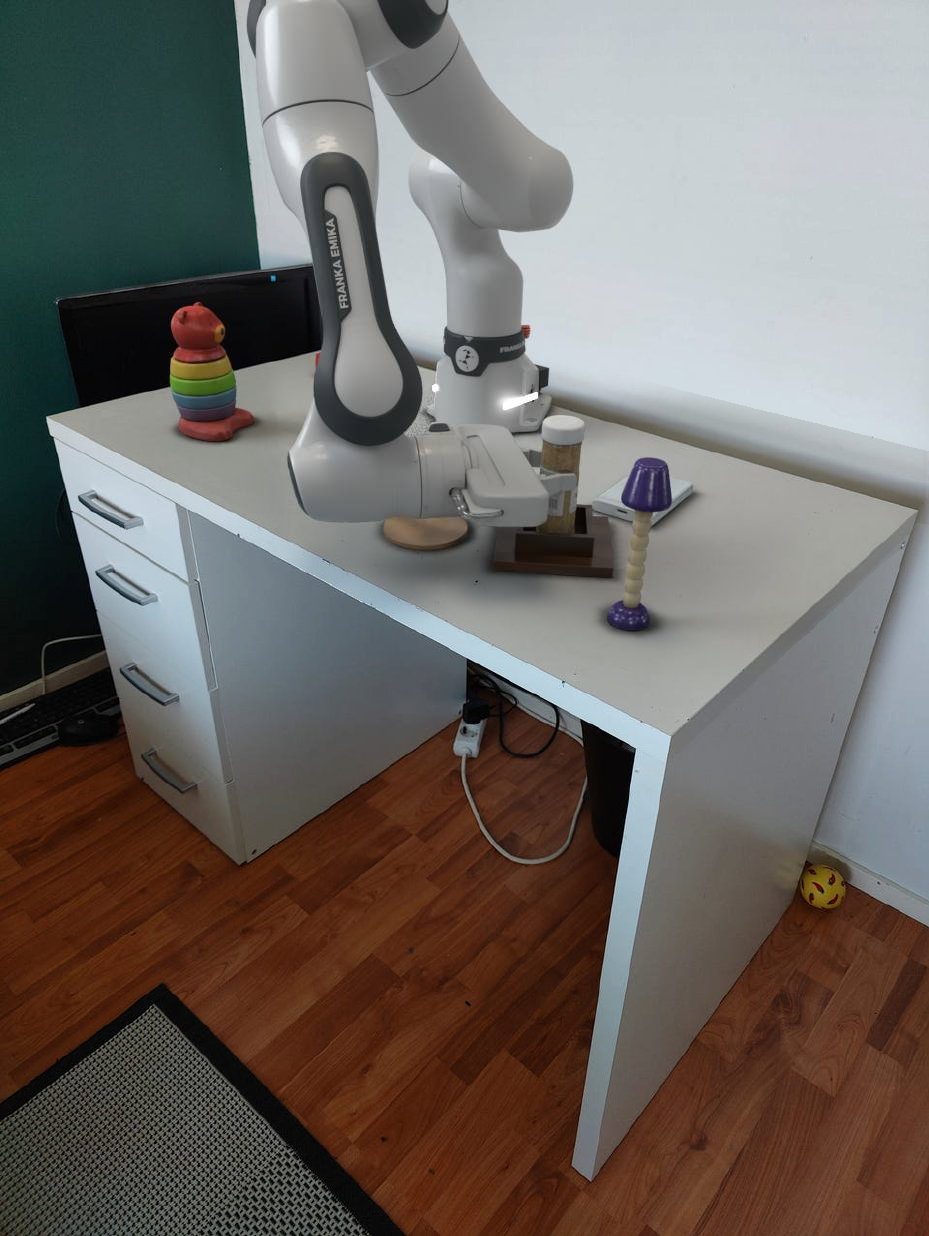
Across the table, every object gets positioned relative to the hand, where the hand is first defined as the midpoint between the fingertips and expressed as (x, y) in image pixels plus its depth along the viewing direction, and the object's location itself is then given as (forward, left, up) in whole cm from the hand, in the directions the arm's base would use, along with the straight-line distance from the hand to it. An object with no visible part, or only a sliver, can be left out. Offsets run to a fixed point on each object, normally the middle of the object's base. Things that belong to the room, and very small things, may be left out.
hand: (567, 469), depth 95 cm
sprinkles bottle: (+1, -1, -8) cm, 8 cm away
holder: (+1, -1, -9) cm, 9 cm away
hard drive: (-16, +5, -10) cm, 20 cm away
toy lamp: (+12, +12, -10) cm, 19 cm away
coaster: (+4, -16, -9) cm, 19 cm away
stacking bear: (-12, -61, -10) cm, 63 cm away
